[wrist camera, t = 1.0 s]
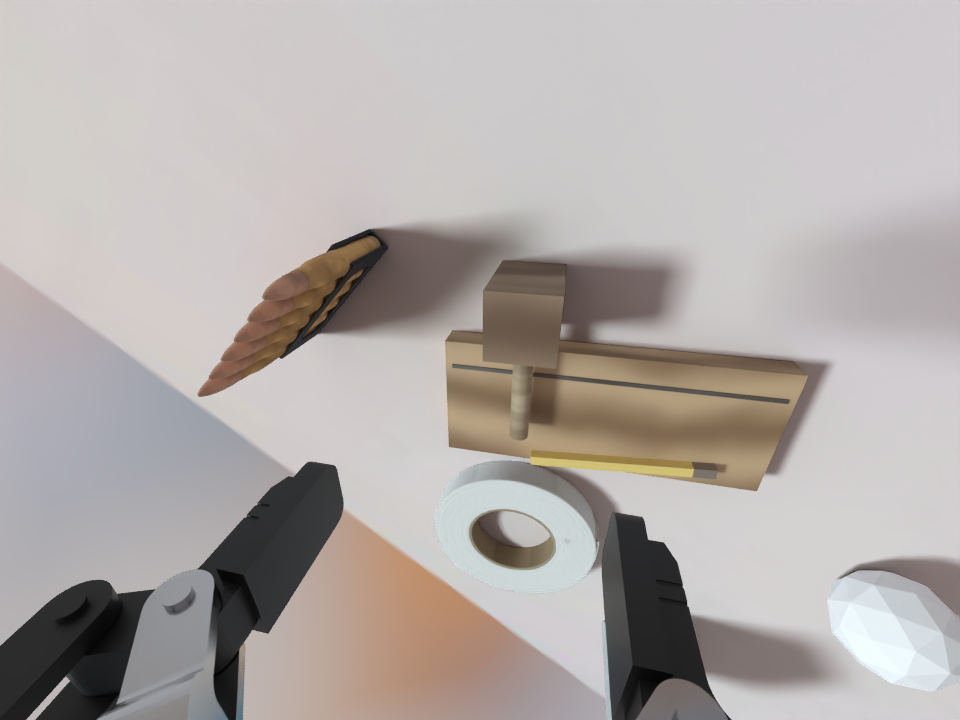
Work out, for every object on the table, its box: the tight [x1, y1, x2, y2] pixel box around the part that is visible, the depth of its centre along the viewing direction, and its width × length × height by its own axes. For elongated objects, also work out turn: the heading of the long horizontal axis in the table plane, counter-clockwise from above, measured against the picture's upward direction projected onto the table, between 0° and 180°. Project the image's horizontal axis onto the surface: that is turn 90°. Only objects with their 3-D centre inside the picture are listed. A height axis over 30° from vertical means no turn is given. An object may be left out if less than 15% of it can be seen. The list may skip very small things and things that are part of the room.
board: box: [445, 331, 808, 491], centre depth 31 cm, size 10×24×2 cm, turn 89°
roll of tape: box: [434, 461, 600, 594], centre depth 39 cm, size 16×15×3 cm
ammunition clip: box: [198, 229, 388, 397], centre depth 26 cm, size 11×2×12 cm, turn 136°
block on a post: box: [483, 261, 566, 441], centre depth 28 cm, size 12×4×7 cm, turn 179°
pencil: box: [530, 450, 718, 479], centre depth 31 cm, size 1×14×1 cm, turn 95°
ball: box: [827, 570, 960, 692], centre depth 31 cm, size 8×8×8 cm
